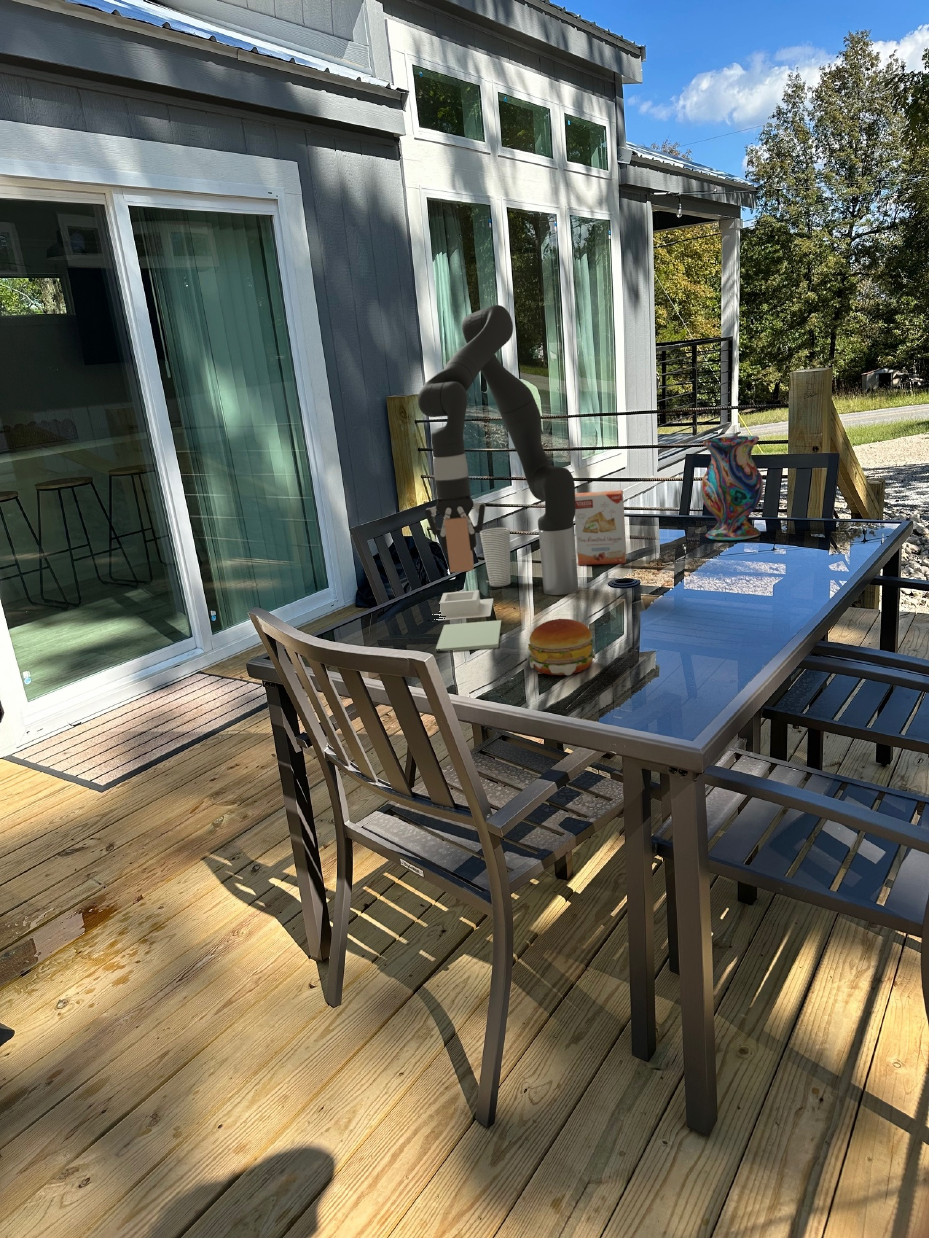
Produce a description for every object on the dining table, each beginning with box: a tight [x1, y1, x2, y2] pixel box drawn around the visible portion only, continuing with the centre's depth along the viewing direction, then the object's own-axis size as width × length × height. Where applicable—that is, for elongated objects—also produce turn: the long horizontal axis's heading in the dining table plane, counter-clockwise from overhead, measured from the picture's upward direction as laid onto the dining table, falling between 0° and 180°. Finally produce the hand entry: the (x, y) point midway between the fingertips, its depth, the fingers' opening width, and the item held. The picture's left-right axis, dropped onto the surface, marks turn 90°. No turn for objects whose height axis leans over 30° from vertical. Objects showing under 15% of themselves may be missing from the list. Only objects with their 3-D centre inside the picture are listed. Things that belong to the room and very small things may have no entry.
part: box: [443, 517, 475, 573], centre depth 194 cm, size 5×5×12 cm
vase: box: [700, 435, 764, 541], centre depth 266 cm, size 18×18×30 cm
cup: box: [479, 526, 511, 588], centre depth 242 cm, size 8×8×16 cm
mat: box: [435, 619, 502, 651], centre depth 200 cm, size 14×18×1 cm
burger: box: [527, 618, 597, 676], centre depth 173 cm, size 13×14×10 cm
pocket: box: [432, 589, 494, 621], centre depth 221 cm, size 16×16×4 cm
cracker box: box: [574, 489, 627, 566], centre depth 252 cm, size 14×6×21 cm, turn 76°
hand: (460, 550), depth 195 cm, fingers closed on part, 5 cm apart
